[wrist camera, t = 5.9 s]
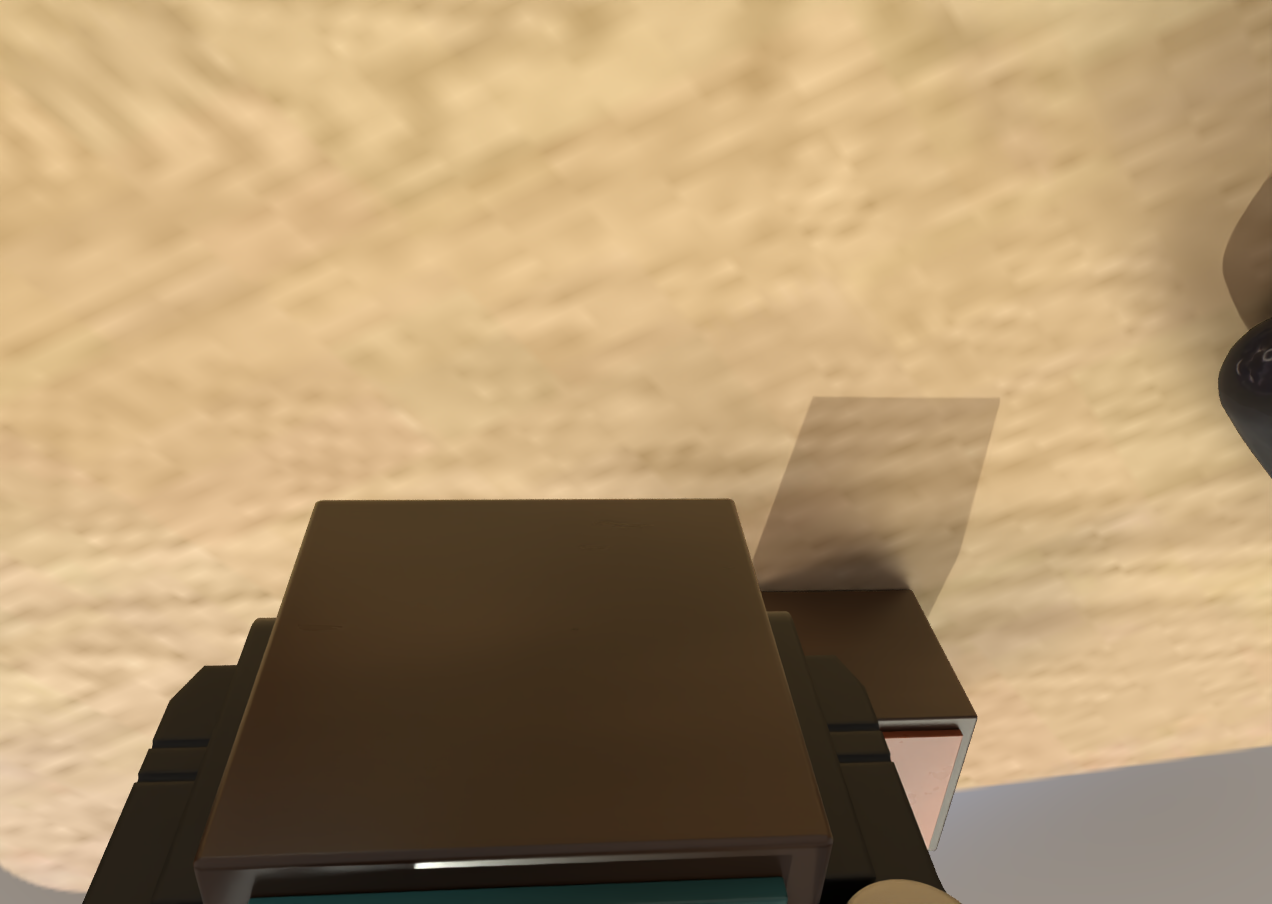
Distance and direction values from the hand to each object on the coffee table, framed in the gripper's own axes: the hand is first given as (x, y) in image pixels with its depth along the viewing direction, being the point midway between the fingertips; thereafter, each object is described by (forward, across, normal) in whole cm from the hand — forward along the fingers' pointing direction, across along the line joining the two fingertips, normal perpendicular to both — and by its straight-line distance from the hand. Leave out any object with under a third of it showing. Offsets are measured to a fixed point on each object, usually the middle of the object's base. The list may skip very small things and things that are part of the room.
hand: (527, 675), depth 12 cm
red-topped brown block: (+11, -8, +10) cm, 17 cm away
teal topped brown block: (0, 0, 0) cm, 0 cm away
